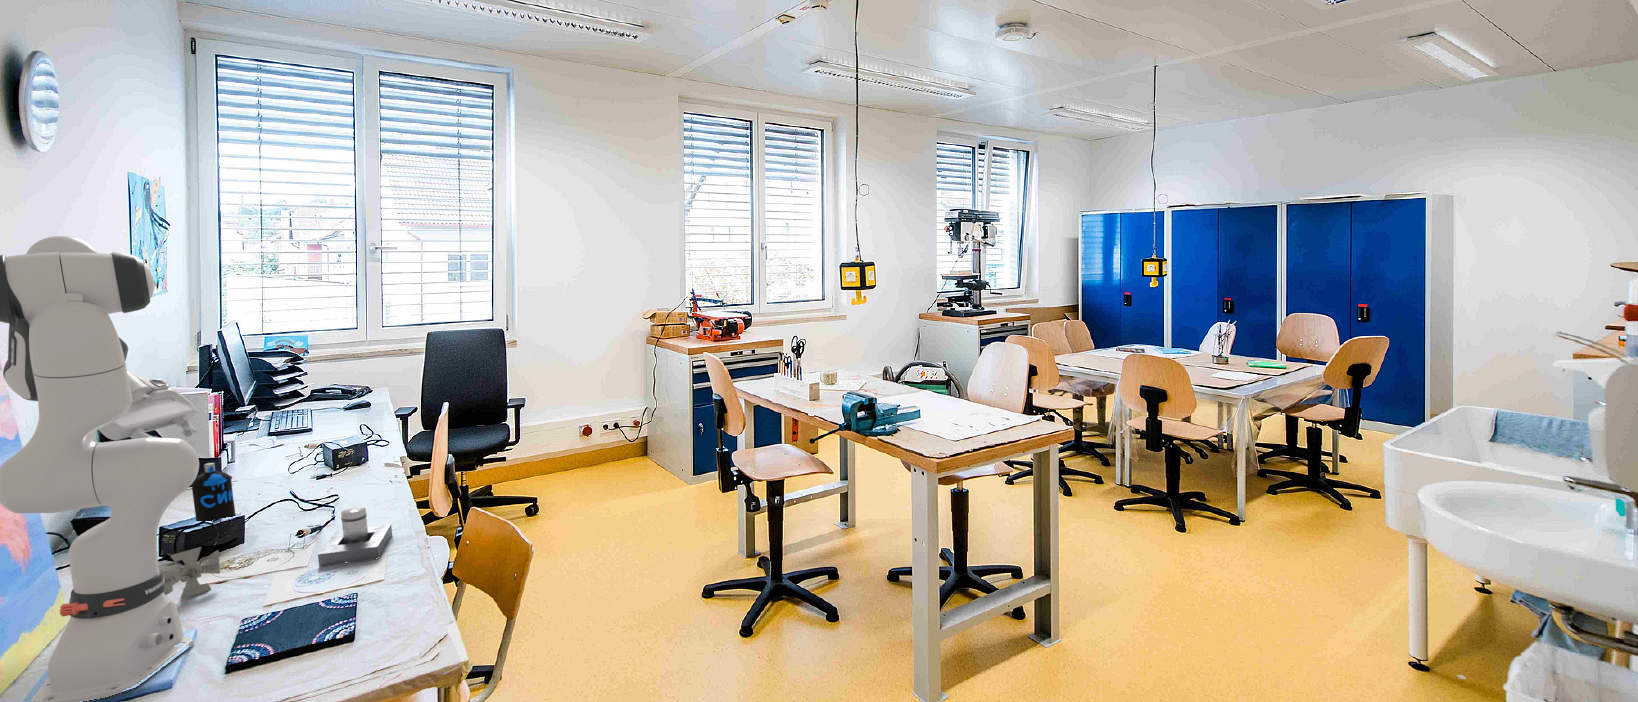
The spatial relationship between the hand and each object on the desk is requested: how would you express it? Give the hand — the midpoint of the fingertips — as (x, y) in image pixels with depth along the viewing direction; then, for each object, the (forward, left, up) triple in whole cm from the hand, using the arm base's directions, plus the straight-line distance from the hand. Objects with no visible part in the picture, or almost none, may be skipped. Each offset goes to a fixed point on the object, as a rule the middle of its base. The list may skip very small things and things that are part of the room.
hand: (175, 439), depth 163 cm
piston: (+3, -31, -31) cm, 44 cm away
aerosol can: (+24, +4, -32) cm, 40 cm away
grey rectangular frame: (+3, -31, -31) cm, 44 cm away
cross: (-12, -4, -32) cm, 34 cm away
